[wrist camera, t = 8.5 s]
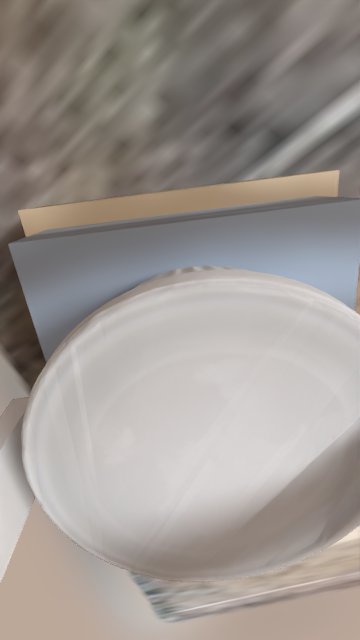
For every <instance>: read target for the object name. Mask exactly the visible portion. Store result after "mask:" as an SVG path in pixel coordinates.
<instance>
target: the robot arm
mask: <svg viewBox="0 0 360 640" xmlns="http://www.w3.org/2000/svg"><path fill="white" fill-rule="evenodd" d="M28 399H29V397H27V398H19V399H13V400H12V401H11V402H10V404H9V405H8V407H7V408H6V410H5V411H4V412H3V414H2V415H1V417H0V583H1V580H2V578H3V575H4V573H5V570H6V568H7V566H8V563H9V561H10V558H11V556H12V553H13V551H14V548H15V546H16V543H17V541H18V539H19V536H20V534H21V531H22V529H23V526H24V524H25V522H26V519H27V517H28V514H29V512H30V509H31V507H32V504H33V502H34V499H35V495H34V493H33V491H32V489H31V487H30V485H29V483H28V481H27V477H26V474H25V471H24V467H23V463H22V441H21V432H22V423H23V418H24V414H25V409H26V406H27V402H28Z"/></svg>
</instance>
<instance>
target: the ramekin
mask: <svg viewBox="0 0 360 640" xmlns="http://www.w3.org/2000/svg"><path fill="white" fill-rule="evenodd" d="M21 441H22V463H23V467H24V471H25V474H26V477H27V481H28V483H29V485H30V487H31V489H32V491H33V493H34V495H35V497H36V499H37V501H38V502H39V503H40V506H41V507H42V509H43V510H44V512H45V513H46V514H47V516H48V517H49V518H50V520H51V521H52V522H53V523H54V524H55V525H56V526H57V527H58V528H59V529H60V530H61V531H62V532H63V533H64V534H65V535H66V536H67V537H68V538H70V539H71V540H72V541H73V542H74V543H76V544H77V545H78V546H80V547H81V548H82V549H84V550H86V551H87V552H89V553H91V554H92V555H94V556H96V557H98V558H100V559H102V560H104V561H106V562H108V563H110V564H112V565H115V566H117V567H120V568H123V569H126V570H129V571H132V572H135V573H138V574H141V575H145V576H149V577H153V578H157V579H163V580H170V581H181V582H214V581H225V580H235V579H241V578H247V577H252V576H256V575H261V574H265V573H268V572H272V571H275V570H278V569H281V568H284V567H286V566H289V565H292V564H294V563H297V562H300V561H303V560H304V559H306V558H308V557H310V556H312V555H314V554H316V553H318V552H320V551H322V550H324V549H326V548H327V547H329V546H331V545H333V544H334V543H336V542H337V541H339V540H340V539H342V538H343V537H344V536H346V535H347V534H349V533H350V532H351V531H353V530H354V529H355V528H356V527H357V526H359V525H360V315H359V314H357V313H356V312H355V311H354V310H352V309H351V308H349V307H348V306H346V305H345V304H344V303H342V302H341V301H339V300H337V299H336V298H334V297H332V296H331V295H329V294H327V293H325V292H323V291H321V290H319V289H317V288H315V287H312V286H310V285H307V284H305V283H302V282H299V281H297V280H294V279H290V278H286V277H282V276H278V275H274V274H268V273H262V272H255V271H249V270H246V269H235V268H232V267H228V266H222V267H216V266H211V265H207V266H201V267H195V266H190V267H186V268H181V269H174V270H171V271H169V272H167V273H163V274H158V275H156V276H154V277H153V278H152V279H150V280H147V281H144V282H142V283H140V284H139V285H138V286H136V287H135V288H134V289H132V290H130V291H127V292H126V293H124V294H122V295H120V296H118V297H116V298H114V299H112V300H111V301H109V302H107V303H106V304H104V305H103V306H101V307H100V308H98V309H97V310H96V311H94V312H93V313H92V314H91V315H89V316H88V317H87V318H85V319H84V320H83V321H82V322H81V323H79V324H78V325H77V326H76V327H75V328H74V329H73V330H72V331H71V332H70V333H69V334H68V335H67V337H66V338H65V339H64V340H63V341H62V343H61V344H60V345H59V346H58V347H57V349H56V350H55V352H54V353H53V354H52V356H51V357H50V359H49V360H48V362H47V363H46V365H45V366H44V368H43V370H42V371H41V373H40V375H39V376H38V378H37V380H36V382H35V384H34V386H33V388H32V391H31V393H30V396H29V399H28V402H27V406H26V409H25V414H24V418H23V423H22V432H21Z"/></svg>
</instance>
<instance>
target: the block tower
mask: <svg viewBox="0 0 360 640" xmlns="http://www.w3.org/2000/svg"><path fill="white" fill-rule="evenodd" d="M338 181H339V170H335V171H325V172H314V173H303V174H295V175H287V176H280V177H272V178H264V179H256V180H248V181H240V182H232V183H224V184H216V185H208V186H200V187H192V188H184V189H176V190H168V191H160V192H152V193H144V194H136V195H128V196H120V197H112V198H104V199H96V200H89V201H81V202H73V203H65V204H57V205H49V206H42V207H36V208H30V209H24V210H18V212H19V215H20V219H21V222H22V226H23V229H24V232H25V236H26V237H25V238H22V239H20V240H17V241H14V242H11V243H9V244H8V246H9V249H10V252H11V255H12V258H13V262H14V265H15V268H16V271H17V274H18V277H19V280H20V283H21V286H22V289H23V293H24V296H25V299H26V302H27V305H28V308H29V311H30V314H31V317H32V320H33V323H34V327H35V330H36V333H37V336H38V339H39V342H40V345H41V348H42V351H43V354H44V358H45V361H46V363H47V362H48V360H49V359H50V357H51V356H52V354H53V353H54V352H55V350H56V349H57V347H58V346H59V345H60V344H61V343H62V341H63V340H64V339H65V338H66V337H67V335H68V334H69V333H70V332H71V331H72V330H73V329H74V328H75V327H76V326H77V325H78V324H79V323H81V322H82V321H83V320H84V319H85V318H87V317H88V316H89V315H91V314H92V313H93V312H94V311H96V310H97V309H98V308H100V307H101V306H103V305H104V304H106V303H107V302H109V301H111V300H112V299H114V298H116V297H118V296H120V295H122V294H124V293H126V292H127V291H130V290H132V289H134V288H135V287H136V286H138V285H139V284H140V283H142V282H144V281H147V280H150V279H152V278H153V277H154V276H156V275H158V274H163V273H167V272H169V271H171V270H174V269H181V268H186V267H190V266H195V267H201V266H207V265H211V266H216V267H222V266H228V267H232V268H235V269H246V270H249V271H255V272H262V273H268V274H274V275H278V276H282V277H286V278H290V279H294V280H297V281H299V282H302V283H305V284H307V285H310V286H312V287H315V288H317V289H319V290H321V291H323V292H325V293H327V294H329V295H331V296H332V297H334V298H336V299H337V300H339V301H341V302H342V303H344V304H345V305H346V306H348V307H349V308H351V309H352V310H355V300H356V291H357V281H358V272H359V262H360V198H345V197H337V194H338Z"/></svg>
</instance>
